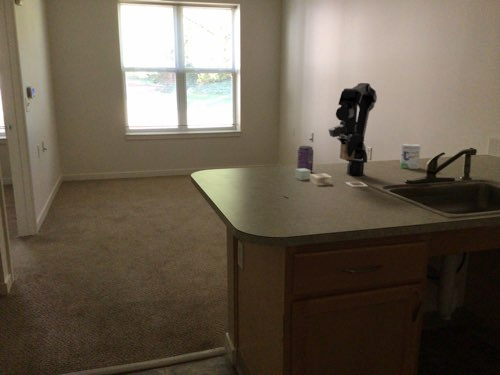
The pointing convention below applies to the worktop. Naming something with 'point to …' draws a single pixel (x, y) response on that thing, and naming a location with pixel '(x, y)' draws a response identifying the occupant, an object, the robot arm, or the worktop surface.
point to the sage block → (302, 174)
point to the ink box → (410, 156)
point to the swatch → (356, 184)
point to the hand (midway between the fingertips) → (347, 155)
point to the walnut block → (345, 153)
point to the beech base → (321, 179)
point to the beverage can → (305, 157)
